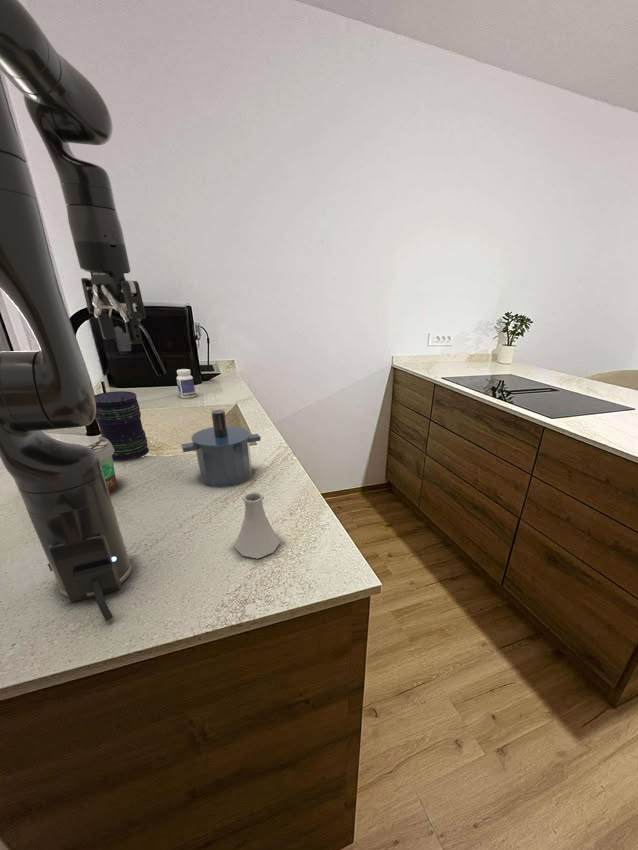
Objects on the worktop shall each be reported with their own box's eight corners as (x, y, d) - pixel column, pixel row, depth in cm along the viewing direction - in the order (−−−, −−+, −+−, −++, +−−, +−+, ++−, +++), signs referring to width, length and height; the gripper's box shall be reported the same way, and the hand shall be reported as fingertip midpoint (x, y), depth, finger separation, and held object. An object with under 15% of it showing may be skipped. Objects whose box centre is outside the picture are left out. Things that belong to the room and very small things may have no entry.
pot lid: (256, 445, 85) (254, 416, 82) (197, 454, 79) (191, 423, 76) (242, 427, 95) (239, 401, 91) (188, 434, 89) (183, 406, 86)
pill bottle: (198, 395, 150) (194, 369, 146) (189, 399, 145) (185, 372, 141) (185, 393, 151) (181, 368, 147) (176, 397, 146) (171, 370, 142)
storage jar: (96, 456, 97) (79, 398, 90) (130, 443, 105) (116, 389, 99) (125, 464, 94) (109, 404, 87) (158, 450, 102) (145, 394, 96)
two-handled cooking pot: (268, 478, 90) (265, 440, 86) (192, 493, 83) (184, 452, 79) (255, 460, 99) (252, 424, 95) (185, 472, 92) (178, 434, 87)
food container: (92, 507, 76) (77, 461, 72) (65, 503, 77) (49, 458, 73) (136, 480, 87) (125, 438, 82) (112, 476, 88) (100, 435, 83)
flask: (257, 564, 63) (252, 513, 58) (227, 549, 66) (220, 499, 62) (287, 543, 69) (284, 494, 64) (258, 529, 72) (253, 482, 67)
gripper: (53, 239, 66) (81, 339, 73) (99, 238, 59) (125, 347, 67) (99, 243, 71) (120, 336, 79) (145, 242, 65) (164, 343, 73)
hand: (122, 341), depth 73 cm, fingers open, 8 cm apart
